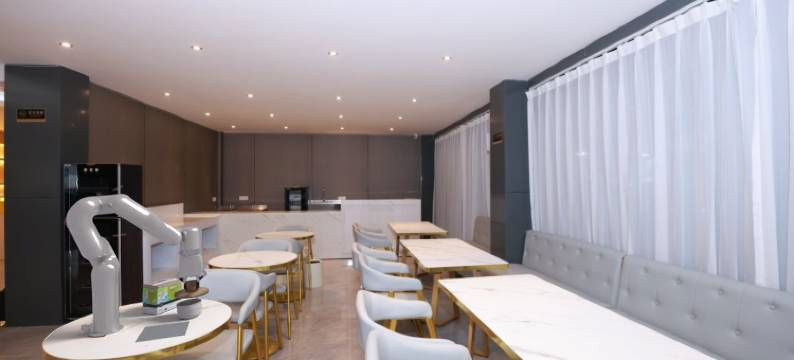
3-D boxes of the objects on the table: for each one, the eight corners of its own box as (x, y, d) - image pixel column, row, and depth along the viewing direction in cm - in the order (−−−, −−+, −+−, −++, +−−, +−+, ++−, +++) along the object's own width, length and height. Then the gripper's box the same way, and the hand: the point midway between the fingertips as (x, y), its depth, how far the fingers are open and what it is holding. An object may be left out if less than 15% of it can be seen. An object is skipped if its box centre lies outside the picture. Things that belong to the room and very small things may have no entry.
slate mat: (135, 343, 162) (135, 342, 162) (145, 328, 178) (145, 326, 178) (184, 336, 168) (184, 335, 168) (189, 322, 185) (189, 321, 185)
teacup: (191, 322, 185) (191, 305, 185) (171, 321, 187) (170, 304, 187) (210, 312, 198) (210, 296, 198) (192, 311, 200) (191, 295, 200)
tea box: (157, 315, 195) (157, 285, 195) (142, 313, 198) (141, 284, 198) (182, 305, 209) (182, 278, 209) (167, 304, 212) (167, 276, 212)
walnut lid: (171, 300, 183) (171, 287, 183) (176, 291, 197) (176, 279, 197) (207, 296, 188) (207, 283, 188) (209, 287, 202) (209, 275, 202)
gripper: (170, 255, 186) (171, 294, 186) (209, 252, 192) (210, 290, 192) (172, 252, 193) (173, 290, 193) (210, 249, 199) (211, 286, 199)
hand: (191, 289), depth 193 cm, fingers closed on walnut lid, 4 cm apart
